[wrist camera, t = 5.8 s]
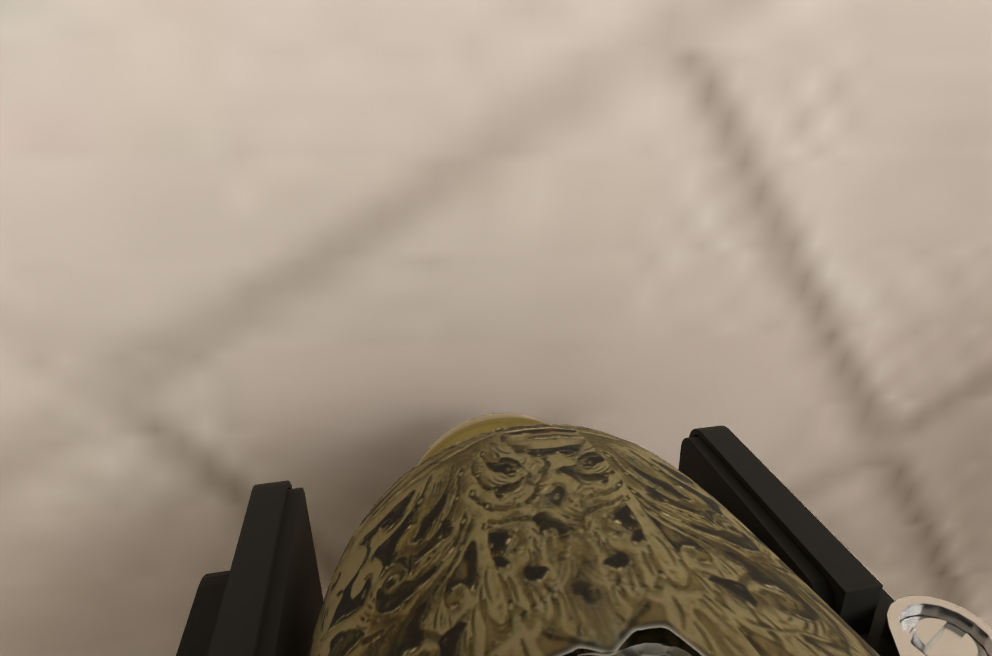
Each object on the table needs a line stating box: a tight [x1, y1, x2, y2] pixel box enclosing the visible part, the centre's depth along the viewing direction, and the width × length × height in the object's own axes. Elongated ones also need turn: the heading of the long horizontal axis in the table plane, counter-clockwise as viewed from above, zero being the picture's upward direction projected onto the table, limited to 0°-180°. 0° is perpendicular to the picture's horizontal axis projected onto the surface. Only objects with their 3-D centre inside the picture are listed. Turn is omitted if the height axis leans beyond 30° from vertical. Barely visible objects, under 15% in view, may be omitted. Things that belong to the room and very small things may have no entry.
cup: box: [307, 413, 880, 656], centre depth 9 cm, size 8×7×8 cm
